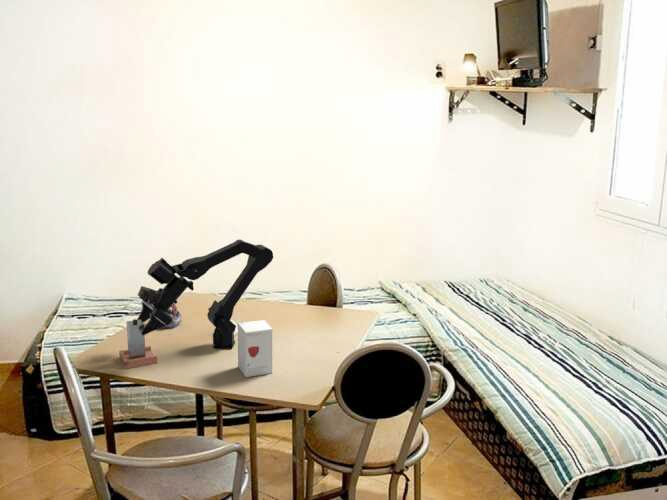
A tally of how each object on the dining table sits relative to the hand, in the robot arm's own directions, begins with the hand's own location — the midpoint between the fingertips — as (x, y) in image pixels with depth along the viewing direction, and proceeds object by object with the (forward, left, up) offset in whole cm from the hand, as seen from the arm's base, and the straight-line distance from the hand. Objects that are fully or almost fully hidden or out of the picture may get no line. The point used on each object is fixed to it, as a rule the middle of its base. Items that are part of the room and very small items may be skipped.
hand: (139, 329), depth 201 cm
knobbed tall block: (+1, +1, -9) cm, 10 cm away
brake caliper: (+1, -33, -11) cm, 35 cm away
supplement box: (-38, +4, -11) cm, 40 cm away
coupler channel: (+1, 0, -10) cm, 10 cm away
